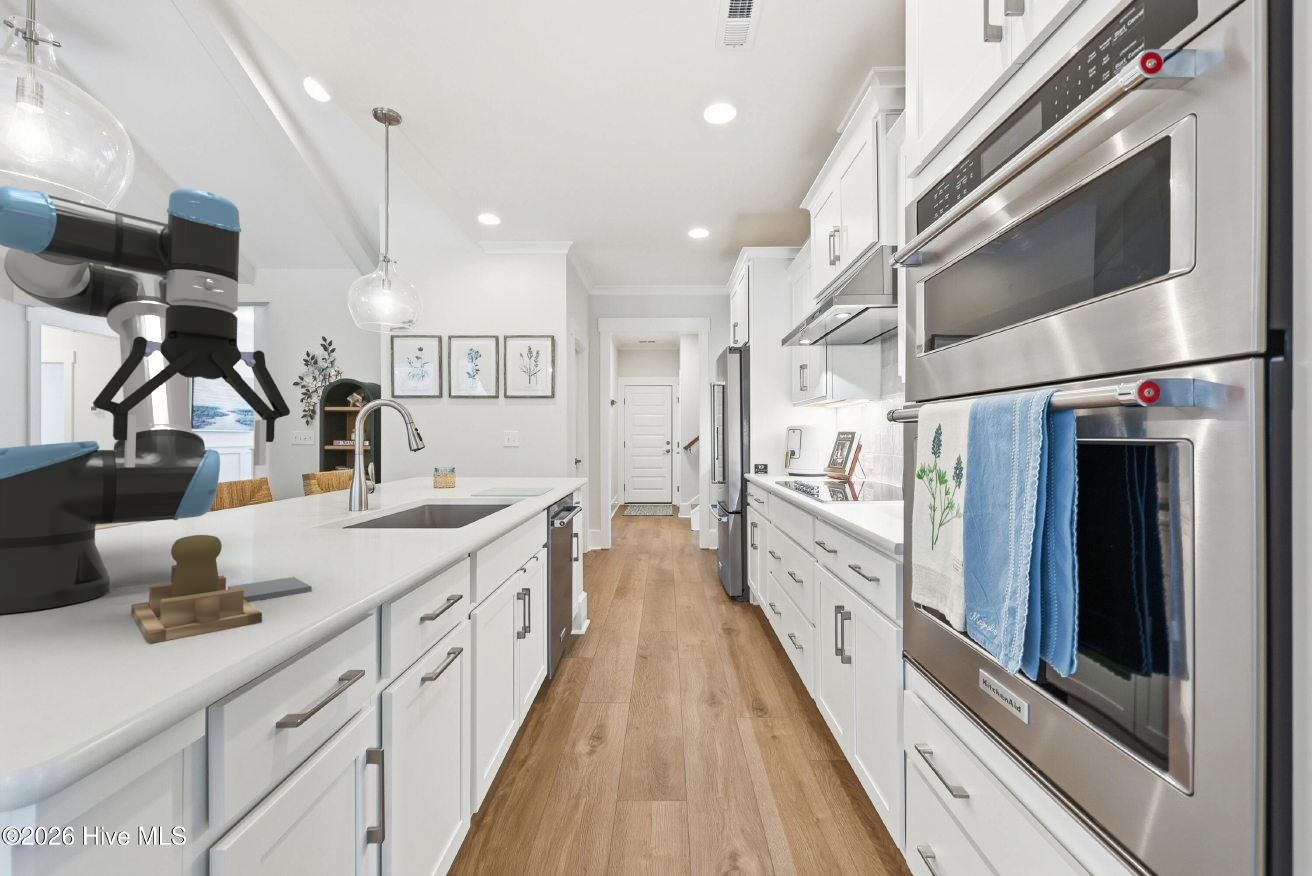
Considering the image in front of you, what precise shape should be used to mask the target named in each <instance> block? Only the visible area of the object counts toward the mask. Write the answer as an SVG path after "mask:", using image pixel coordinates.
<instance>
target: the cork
mask: <svg viewBox="0 0 1312 876" xmlns="http://www.w3.org/2000/svg"><path fill="white" fill-rule="evenodd" d="M222 547H223V546H222V541H221V539H220V538H219V537H217V536H216V535H209V534H196V535H190V536H189V535H188V536H185V537H181V538H179V539H178V538H177V540H175V541H174V543H173V544H172V545H171V551H170V552H171V553H170V555H171V557H172V559H173V560H174V561H175V562H176V564H175V565H176V569H175V574H174V579H173V584H172V589H171V594H170V598H174V597H181V596H188V595H194V594H201V593H208V592H214V591H220V584H219V577H218V576H219V570H218V563H217V558H218V557H219V556H220V554H221V551H222Z"/></svg>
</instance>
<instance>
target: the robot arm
mask: <svg viewBox="0 0 1312 876" xmlns="http://www.w3.org/2000/svg"><path fill="white" fill-rule="evenodd" d="M166 213H167V223H164V222H160V221H156V220H153V219H149V218H144V217H141V216H140V217H139V216H136V215H132V214H128V213H123V212H118V211H115V210H110V209H106V208H103V207H102V208H101V207H98V206H93V205H91V204H86V203H83V202H78V201H76V200H75V201H74V200H71V199H70V200H69V199H65V198H64V197H63V198H62V197H59V196H53V195H50V194H46V193H44V192H42V191H37V190H36V191H35V190H30V189H29V190H28V189H22V188H16V187H12V186H0V245H1V246H2V247H5V248H9V249H8V250H7V252H6V253H5V255H4V256H5V257H4V260H3V261H4V262H3V263H4V265H3V266H4V270H5V274H6V275H7V277H8V278H9V280H10V281H11V283H13V285H15V287H17V288H18V289H19V290H20V291H22V292H23V293H24V294H27V295H28V296H30V297H31V298H33V299H35V300H36V301H38V302H39V301H40V302H41V303H44V304H46V305H48V306H52V307H54V308H57V309H60V310H63V311H65V312H69V313H75V314H79V315H83V316H84V315H85V316H87V315H88V316H92V317H99V318H105V319H106V323H107V325H108V327H109V328H110V329H111V330H112V331H113V332H114V333H115V334H117V335H118V336H119V347H120V348H119V350H120V364H121V365H120V367H119V368H118V369H117V371H116V372H115V373H114V375H113V376H112V377H111V378H110V380H109V381H108V382H107V383H106V385H105V386H104V388H102V390H101V391H100V392H99V394H98V395H97V396H96V398H95V399H94V400H93V402H92V406H93V407H94V408H96V409H98V410H103V411H106V412H109V413H111V414H112V419H113V420H112V421H113V422H112V437H113V439H114V441H115V442H114V445H113V449H100V445H99V444H98V442H97V441H95V440H89V441H88V440H87V441H86V440H85V441H75V442H74V441H73V442H72V441H71V442H60V443H47V444H35V445H23V446H10V447H9V446H8V447H0V615H1V614H12V613H23V612H31V611H38V610H44V609H50V608H57V607H62V606H66V605H72V604H77V603H81V602H85V601H89V600H93V599H96V598H99V597H102V596H104V595H106V594H107V593H109V592H110V581H111V578H110V575H109V572H108V570H107V568H106V566H105V563H104V561H103V558H102V556H101V555H100V551H99V550H98V547H97V546H96V525H108V524H122V523H135V522H136V523H138V522H152V521H153V522H154V521H167V520H168V521H169V520H170V521H171V520H172V521H177V520H179V519H188V518H198V517H202V516H203V515H206V514H207V513H208V512H209V511H210V510H211V508H212V506H213V504H214V501H215V498H216V495H217V490H218V485H219V480H220V469H221V458H220V454H219V452H218V451H217V450H215V449H211V448H209V449H206V447H205V440H204V438H203V437H202V436H201V435H199V434H197V433H196V432H194V431H193V430H192V420H191V413H190V402H189V394H188V387H187V378H188V379H189V378H190V379H193V378H203V379H206V380H218V379H220V378H222V379H223V380H224V381H225V382H226V384H228V385H229V386H230V387H231V388H232V389H233V390H234V391H235V392H236V393H237V394H238V395H239V396H240V397H241V398H242V399H243V400H244V401H245V402H246V404H248V405H249V406H250V408H251V409H252V410H254V412H255V413H257V415H258V416H259V417H260V418H261V419H257V420H254V452H253V453H254V454H253V457H254V459H253V466H266V460H267V458H266V456H267V455H266V453H267V452H266V451H267V449H266V448H267V443H273V442H274V440H275V422H276V421H277V419H279V418H283V417H286V416H289V415H290V414H291V410H290V408H289V407H288V406H289V405H287V403H286V401H285V399H284V396H282V395H283V394H281V392H280V390H279V388H278V386H277V385H276V383H275V381H274V379H273V376H272V375H271V374H270V372H269V369H268V367H267V366H266V358H265V357H266V356H265V352H264V351H263V350H256V351H240V349H239V347H238V317H237V316H236V314H235V312H237V311H238V307H239V304H238V303H239V293H238V292H239V260H240V259H239V258H240V234H241V233H242V229H241V227H240V226H241V225H240V210H239V209H238V207H237V206H236V205H235V204H234V203H233V202H232V201H230V200H229V199H227V198H225V197H223V196H221V195H218V194H216V193H212V192H208V191H206V190H201V189H194V188H180V189H175V190H173V191H172V192H171V193H170V195H169V199H168V207H167V209H166ZM240 360H242V361H243V362H244V363H245V365H246V366H247V367H249V368H251V370H252V373H253V374H254V377H255V378H256V381H257V382H258V383H259V385H260V387H261V389H262V391H263V393H264V395H265V396H266V399H267V400H268V402H269V404H270V405H271V407H272V409H271V407H269V405H267V404H266V402H265V401H264V400H263V399H262V398H261V397H260V396H259V395H258V393H257V392H256V391H254V389H253V388H252V387H251V386H250V385H249V384H248V383H247V382H246V381H245V380H244V379H243V378H242V376H241V374H239V372H238V371H237V370H236V369H235V368H234V366H235V365H237V364H238V363H239V362H240ZM121 388H122V396H123V400H122V401H120V402H115V401H112V400H113V399H114V398H115V397H116V396H117V394H118V392H119V391H120V390H121Z"/></svg>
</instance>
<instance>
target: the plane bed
mask: <svg viewBox="0 0 1312 876" xmlns="http://www.w3.org/2000/svg"><path fill="white" fill-rule="evenodd" d="M175 569H176V564H175V565H171V570H170V571H171V573H170V582H165V583H157V584H150V585H148V587H149V591H148V601H147V602H141V603H133V604H131V607H130V608H131V612H130V614H131V613H132V614H131V616H132V615H133V616H132V617H133V619H134V618H135V619H134V621H135V620H136V621H135V623H136V622H137V623H136V624H137V626H138V625H139V626H138V628H139V629H141V630H140V631H141V633H142V632H143V633H142V635H143V637H144V636H145V637H144V638H145V640H146V642H147V641H148V642H147V644H148V643H151V644H155V643H161V642H165V641H171V640H170V639H172V640H176V639H177V640H178V639H180V638H186V637H187V638H188V637H192V636H197V635H201V634H202V635H203V634H207V633H212V632H217V631H222V630H227V629H233V628H234V629H235V628H238V627H243V626H249V625H254V624H259V623H262V621H263V612H261V611H260V610H259V609H258V608H256V607H254V605H252V604H251V603H249V602H247V601H245V600H244V590H243V589H241V588H234V589H228V588H227V577H226V576H224V575H218V577H219V584H220V591H214V592H208V593H201V594H194V595H188V596H181V597H174V598H170V594H171V589H172V584H173V579H174V574H175ZM226 588H227V589H226ZM157 616H160V618H159V617H157ZM159 619H160V620H159Z"/></svg>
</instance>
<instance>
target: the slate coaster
mask: <svg viewBox="0 0 1312 876" xmlns="http://www.w3.org/2000/svg"><path fill="white" fill-rule="evenodd" d="M234 588H241V589H243V590H244V600H245V601H247V602H248V603H249V602H255V601H262V600H267V598H268V599H272V598H271V597H274V598H278V597H284V596H290V594H292V595H296V594H303V592H304V593H308V591H310V592H312V585H310V584H308V583H306V582H304V581H303V580H301V579H299V578H297V577H295V576H291V577H284V578H276V579H270V580H263V581H256V582H251V583H243V584H234V585H229V586H227V590H228V589H234ZM261 599H262V600H261Z"/></svg>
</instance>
